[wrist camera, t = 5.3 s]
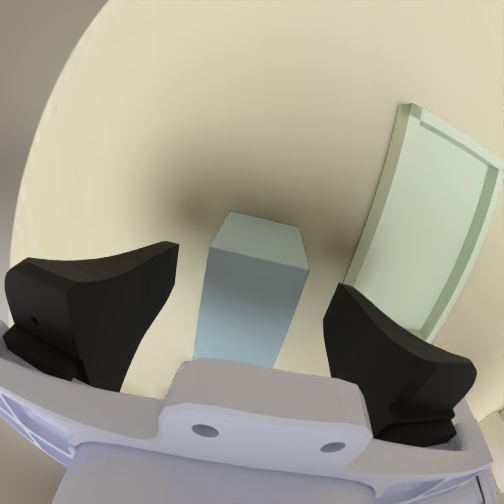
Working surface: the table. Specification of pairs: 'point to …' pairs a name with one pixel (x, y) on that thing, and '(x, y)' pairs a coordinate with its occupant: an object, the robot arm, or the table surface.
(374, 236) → the tray
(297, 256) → the tall blue-grey prism
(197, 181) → the table surface
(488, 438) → the vase
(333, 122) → the table surface
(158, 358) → the table surface
